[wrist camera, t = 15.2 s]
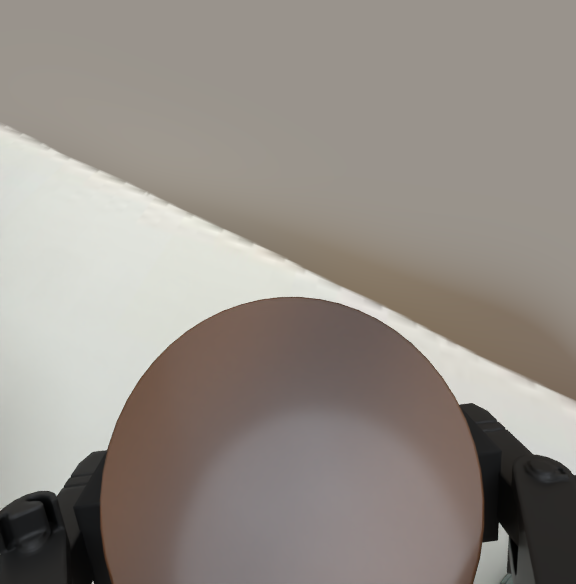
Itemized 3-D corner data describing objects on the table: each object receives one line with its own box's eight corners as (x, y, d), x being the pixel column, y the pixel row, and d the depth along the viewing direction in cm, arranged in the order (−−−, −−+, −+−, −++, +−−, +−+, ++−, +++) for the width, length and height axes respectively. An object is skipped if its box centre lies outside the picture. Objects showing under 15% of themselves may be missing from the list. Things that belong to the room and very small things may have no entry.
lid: (145, 545, 16) (7, 562, 8) (252, 357, 20) (224, 253, 12) (352, 681, 14) (421, 870, 6) (425, 438, 18) (521, 373, 10)
